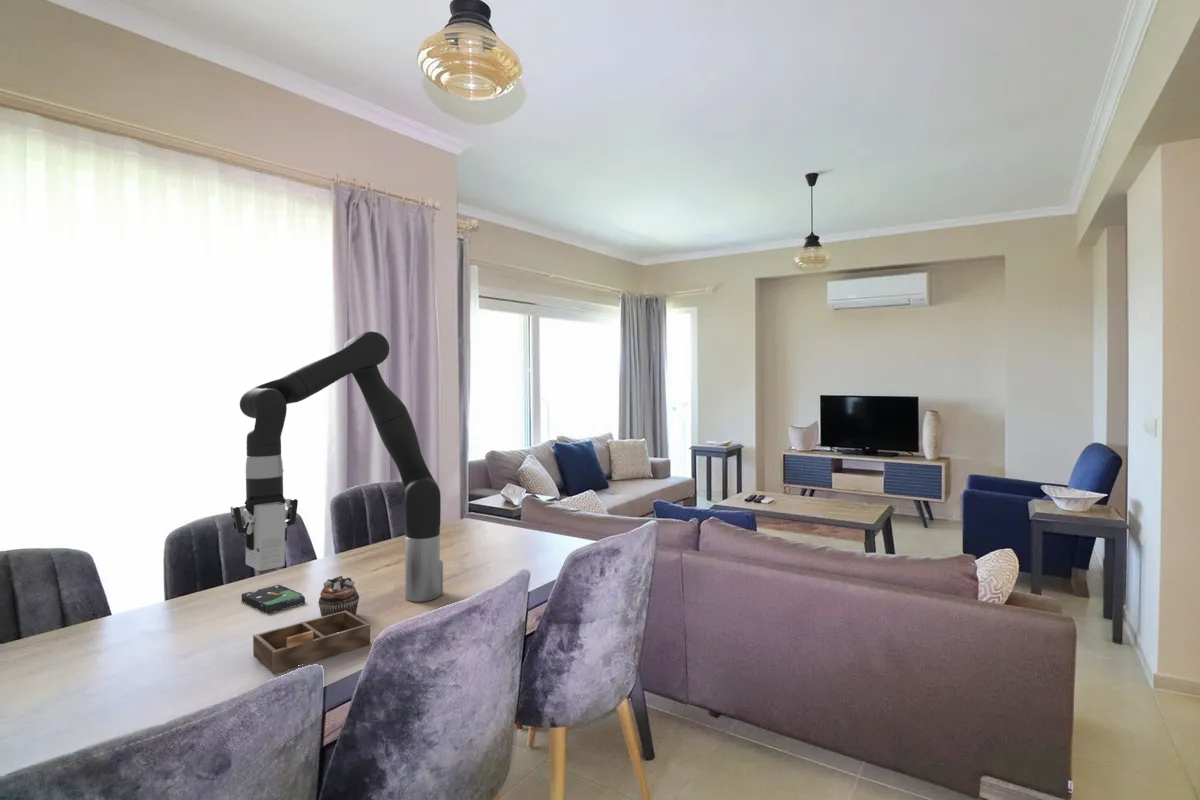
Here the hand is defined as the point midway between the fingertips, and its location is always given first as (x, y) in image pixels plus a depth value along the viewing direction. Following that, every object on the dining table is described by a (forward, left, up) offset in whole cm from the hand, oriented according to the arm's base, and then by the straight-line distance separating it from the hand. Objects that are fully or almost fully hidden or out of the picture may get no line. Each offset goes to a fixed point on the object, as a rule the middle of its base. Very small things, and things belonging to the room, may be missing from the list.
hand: (265, 546), depth 142 cm
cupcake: (-17, 0, -22) cm, 28 cm away
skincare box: (0, 0, -5) cm, 5 cm away
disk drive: (-9, -24, -22) cm, 34 cm away
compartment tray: (-5, +14, -21) cm, 26 cm away
